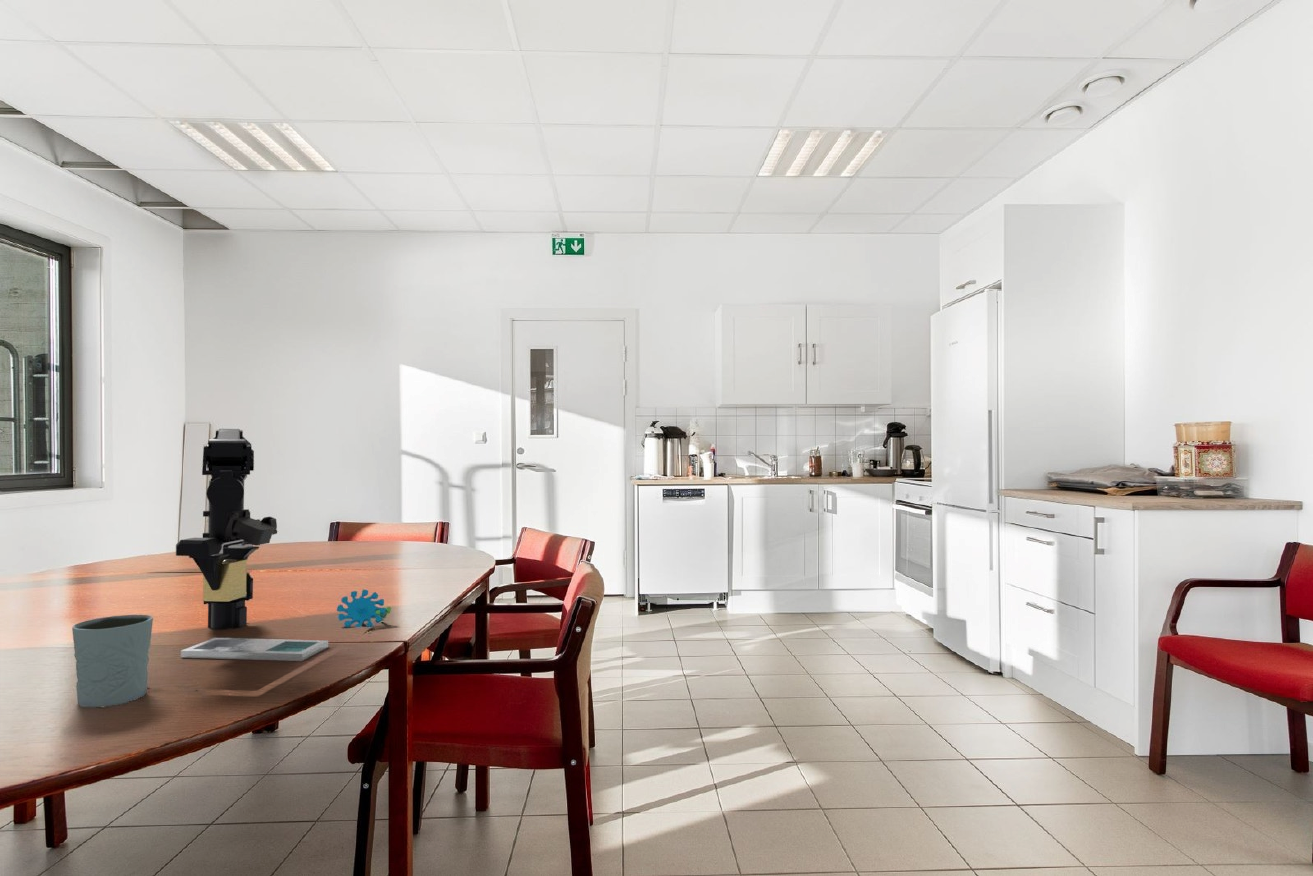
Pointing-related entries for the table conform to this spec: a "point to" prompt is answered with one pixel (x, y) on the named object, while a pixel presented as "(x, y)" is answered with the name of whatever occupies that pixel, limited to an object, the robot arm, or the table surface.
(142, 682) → the embossed vase
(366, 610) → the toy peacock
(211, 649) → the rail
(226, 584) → the block
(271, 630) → the table surface
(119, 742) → the table surface
